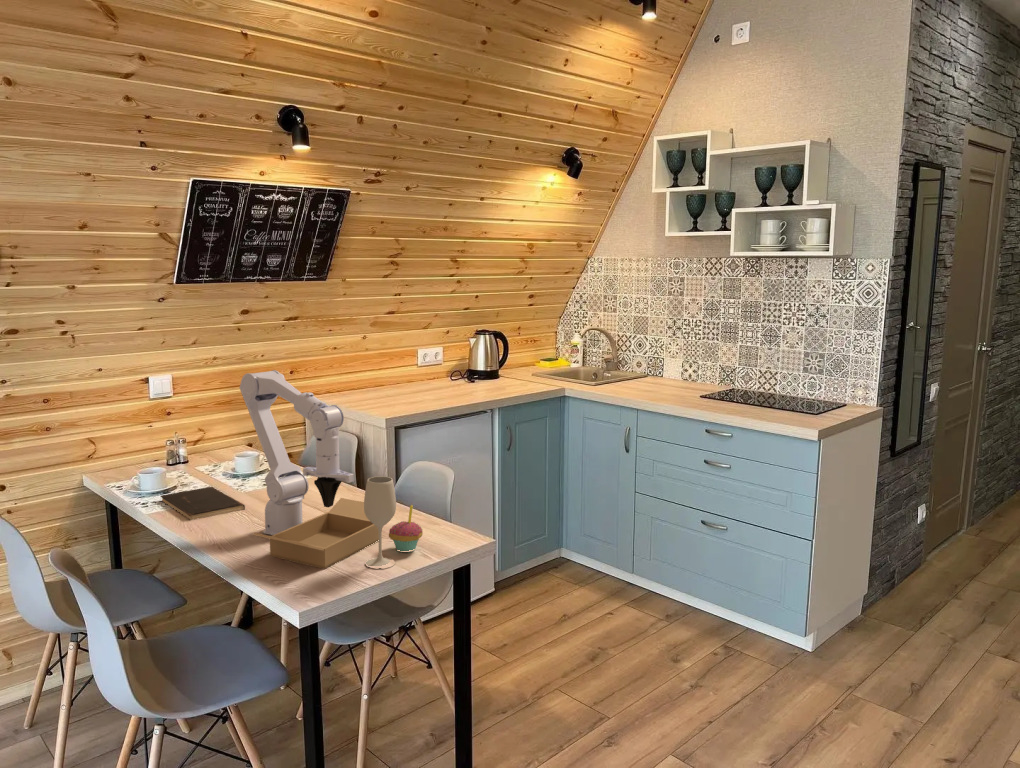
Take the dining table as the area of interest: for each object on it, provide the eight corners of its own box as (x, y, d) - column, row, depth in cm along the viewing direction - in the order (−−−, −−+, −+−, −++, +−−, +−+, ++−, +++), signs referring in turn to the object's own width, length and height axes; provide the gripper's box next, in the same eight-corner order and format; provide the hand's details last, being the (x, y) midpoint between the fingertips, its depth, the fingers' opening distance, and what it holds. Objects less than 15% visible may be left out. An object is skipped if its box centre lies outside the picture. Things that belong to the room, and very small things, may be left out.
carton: (270, 556, 192) (269, 536, 191) (328, 529, 211) (327, 512, 211) (325, 569, 185) (324, 548, 184) (379, 540, 204) (379, 522, 203)
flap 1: (308, 544, 179) (308, 547, 179) (324, 548, 184) (323, 550, 184) (254, 532, 186) (253, 534, 186) (270, 536, 191) (269, 538, 191)
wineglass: (373, 572, 183) (373, 485, 180) (358, 562, 189) (358, 478, 186) (401, 565, 188) (402, 480, 185) (386, 555, 194) (386, 473, 191)
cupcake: (406, 541, 204) (407, 497, 202) (429, 549, 199) (430, 503, 197) (381, 550, 198) (381, 504, 196) (405, 558, 192) (405, 511, 190)
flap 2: (340, 497, 215) (341, 499, 215) (328, 512, 211) (328, 513, 211) (391, 507, 208) (391, 508, 208) (379, 522, 203) (379, 523, 204)
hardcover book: (189, 522, 216) (189, 514, 216) (160, 503, 233) (160, 495, 233) (245, 511, 227) (244, 503, 227) (213, 493, 244) (213, 486, 244)
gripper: (294, 453, 196) (295, 505, 198) (340, 460, 190) (341, 514, 192) (313, 448, 202) (314, 498, 204) (358, 454, 196) (359, 507, 198)
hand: (328, 506), depth 199 cm, fingers closed
